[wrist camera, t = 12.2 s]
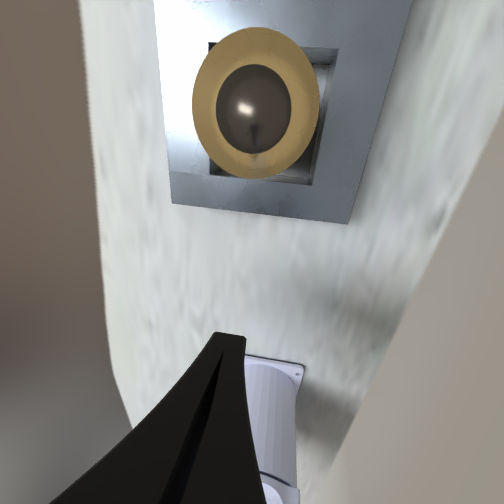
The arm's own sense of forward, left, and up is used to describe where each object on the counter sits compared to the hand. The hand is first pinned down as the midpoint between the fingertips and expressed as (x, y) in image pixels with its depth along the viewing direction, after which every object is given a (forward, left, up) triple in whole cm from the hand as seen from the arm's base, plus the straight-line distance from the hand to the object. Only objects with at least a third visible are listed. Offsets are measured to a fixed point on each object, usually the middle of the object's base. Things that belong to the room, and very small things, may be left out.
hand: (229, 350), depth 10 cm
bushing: (+9, 0, -9) cm, 13 cm away
